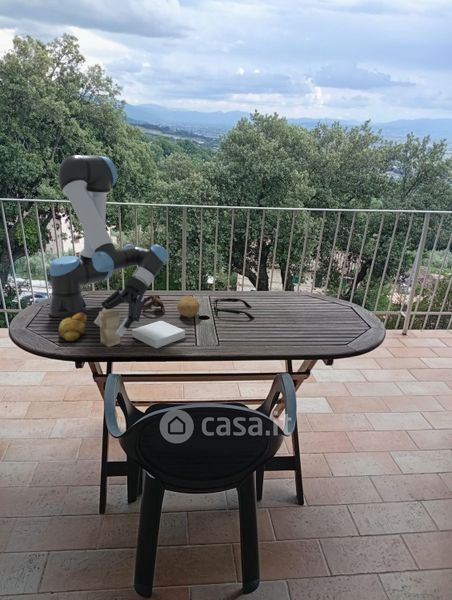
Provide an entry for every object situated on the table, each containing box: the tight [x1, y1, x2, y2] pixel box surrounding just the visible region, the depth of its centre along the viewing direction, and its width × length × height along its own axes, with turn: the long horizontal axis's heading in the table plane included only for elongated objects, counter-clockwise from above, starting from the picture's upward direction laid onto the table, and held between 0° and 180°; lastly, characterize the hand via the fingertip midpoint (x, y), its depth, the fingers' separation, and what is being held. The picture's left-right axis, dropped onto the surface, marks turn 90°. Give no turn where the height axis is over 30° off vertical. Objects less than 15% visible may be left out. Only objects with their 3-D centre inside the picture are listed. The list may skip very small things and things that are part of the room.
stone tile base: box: [131, 320, 186, 349], centre depth 161 cm, size 14×14×3 cm
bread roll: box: [58, 312, 88, 342], centre depth 157 cm, size 13×10×8 cm
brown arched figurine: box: [142, 294, 166, 314], centre depth 188 cm, size 12×9×8 cm
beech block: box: [98, 308, 121, 348], centre depth 153 cm, size 5×5×12 cm
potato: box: [176, 295, 201, 319], centre depth 183 cm, size 10×14×8 cm
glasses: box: [213, 298, 255, 320], centre depth 190 cm, size 17×18×5 cm
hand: (107, 329), depth 152 cm, fingers open, 13 cm apart
